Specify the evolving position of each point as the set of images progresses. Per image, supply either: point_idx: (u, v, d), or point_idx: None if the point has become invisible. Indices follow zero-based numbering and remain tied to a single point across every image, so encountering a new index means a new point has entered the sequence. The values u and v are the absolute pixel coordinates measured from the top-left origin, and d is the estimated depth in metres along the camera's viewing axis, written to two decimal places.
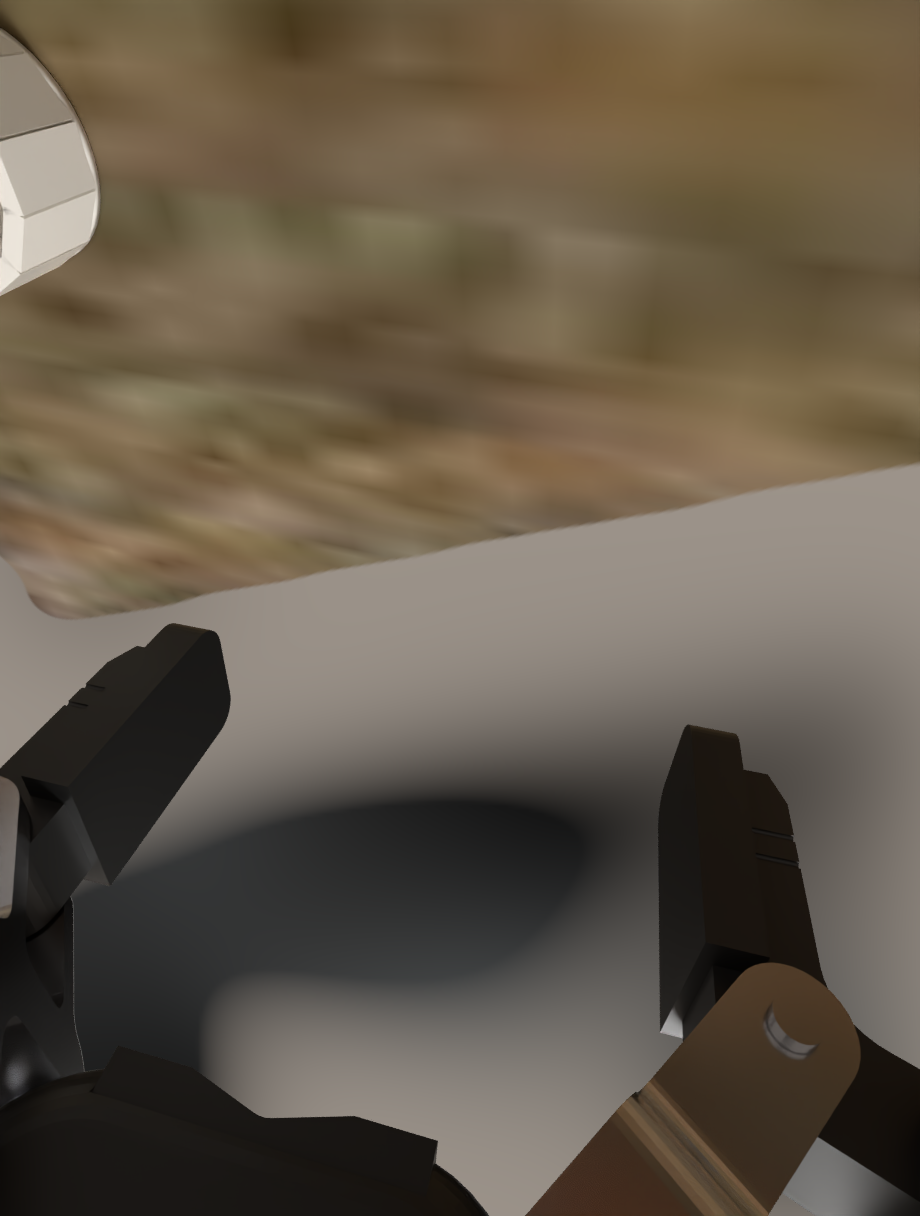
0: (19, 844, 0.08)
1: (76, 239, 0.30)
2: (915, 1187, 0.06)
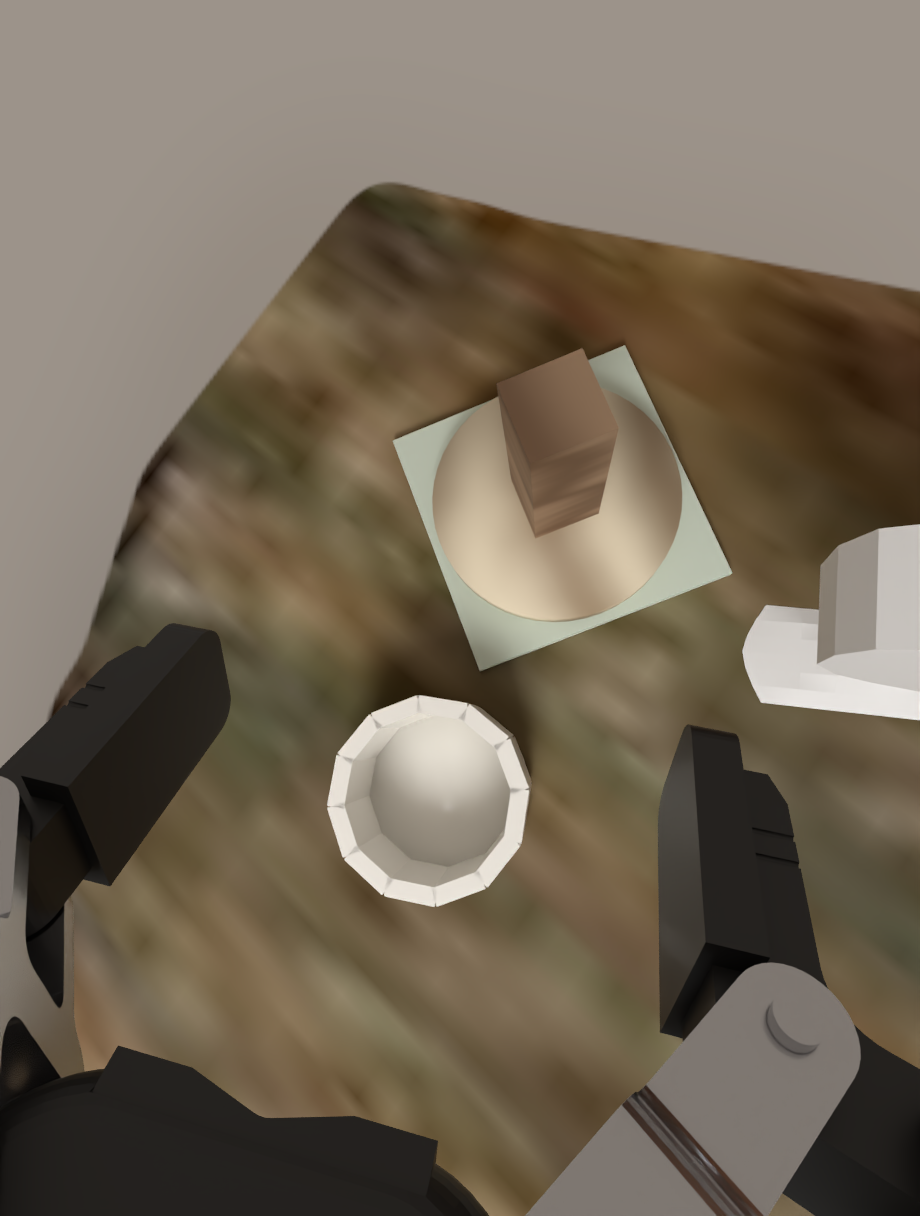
0: (19, 844, 0.08)
1: None
2: (915, 1187, 0.06)
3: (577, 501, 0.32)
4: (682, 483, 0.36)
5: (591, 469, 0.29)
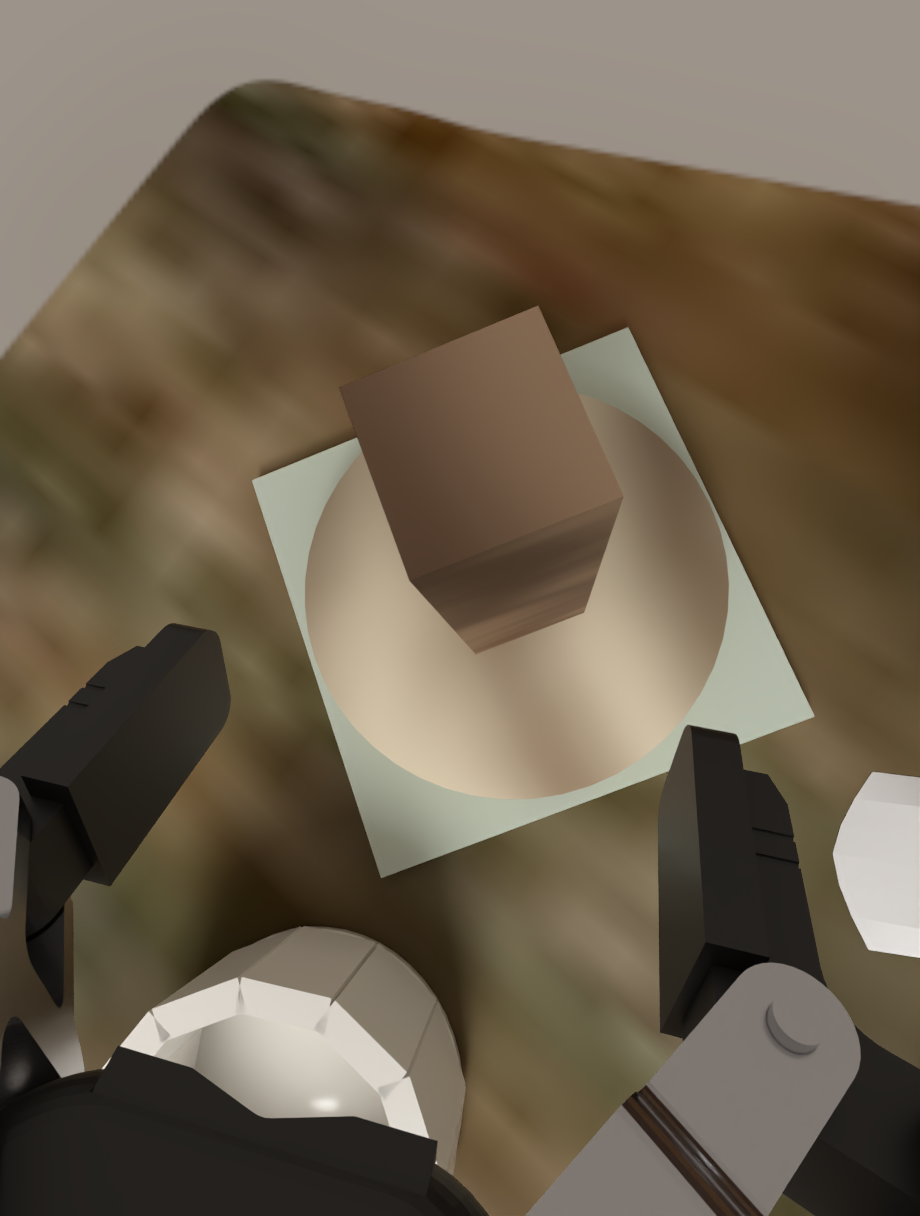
0: (19, 844, 0.08)
1: None
2: (915, 1187, 0.06)
3: (543, 608, 0.17)
4: None
5: (564, 567, 0.14)
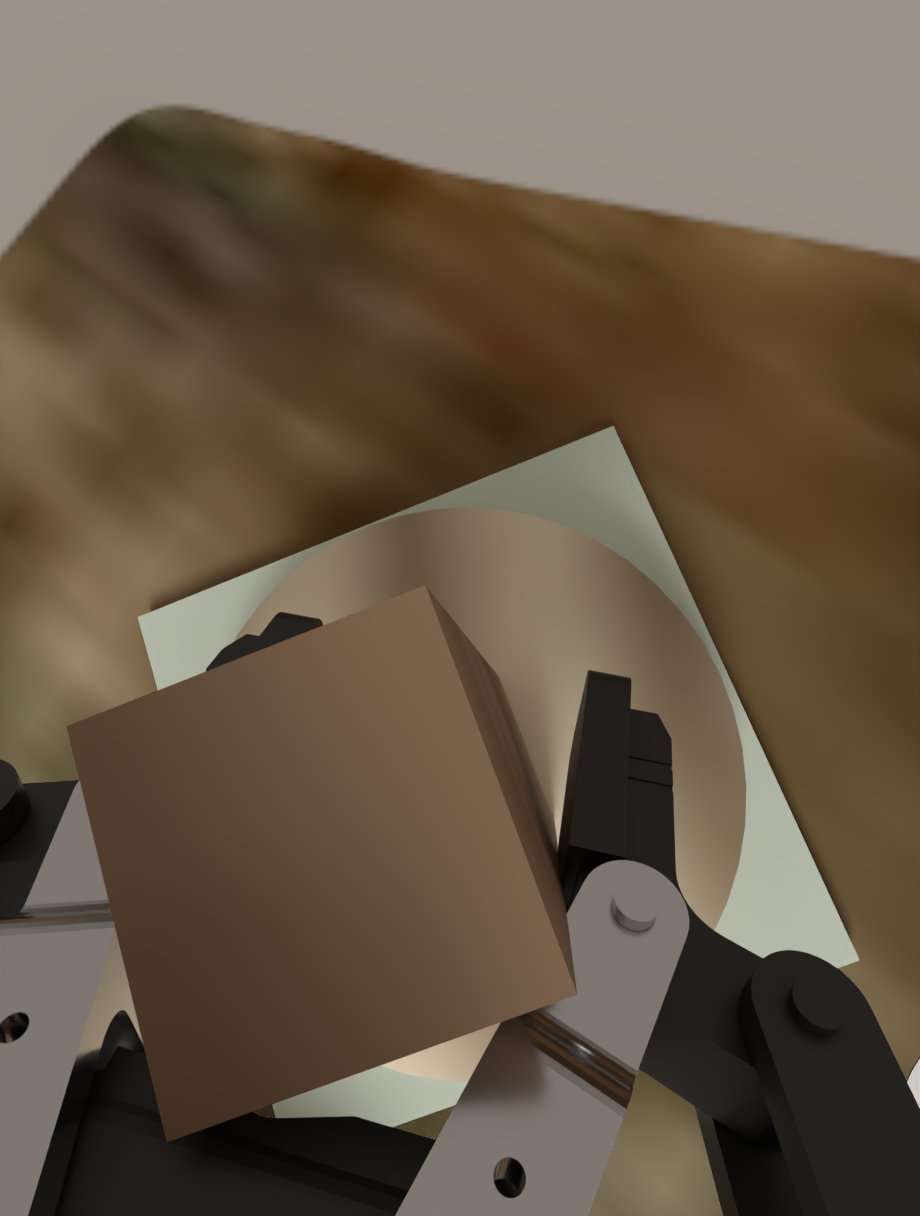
0: None
1: None
2: (724, 1039, 0.07)
3: None
4: (740, 737, 0.17)
5: None
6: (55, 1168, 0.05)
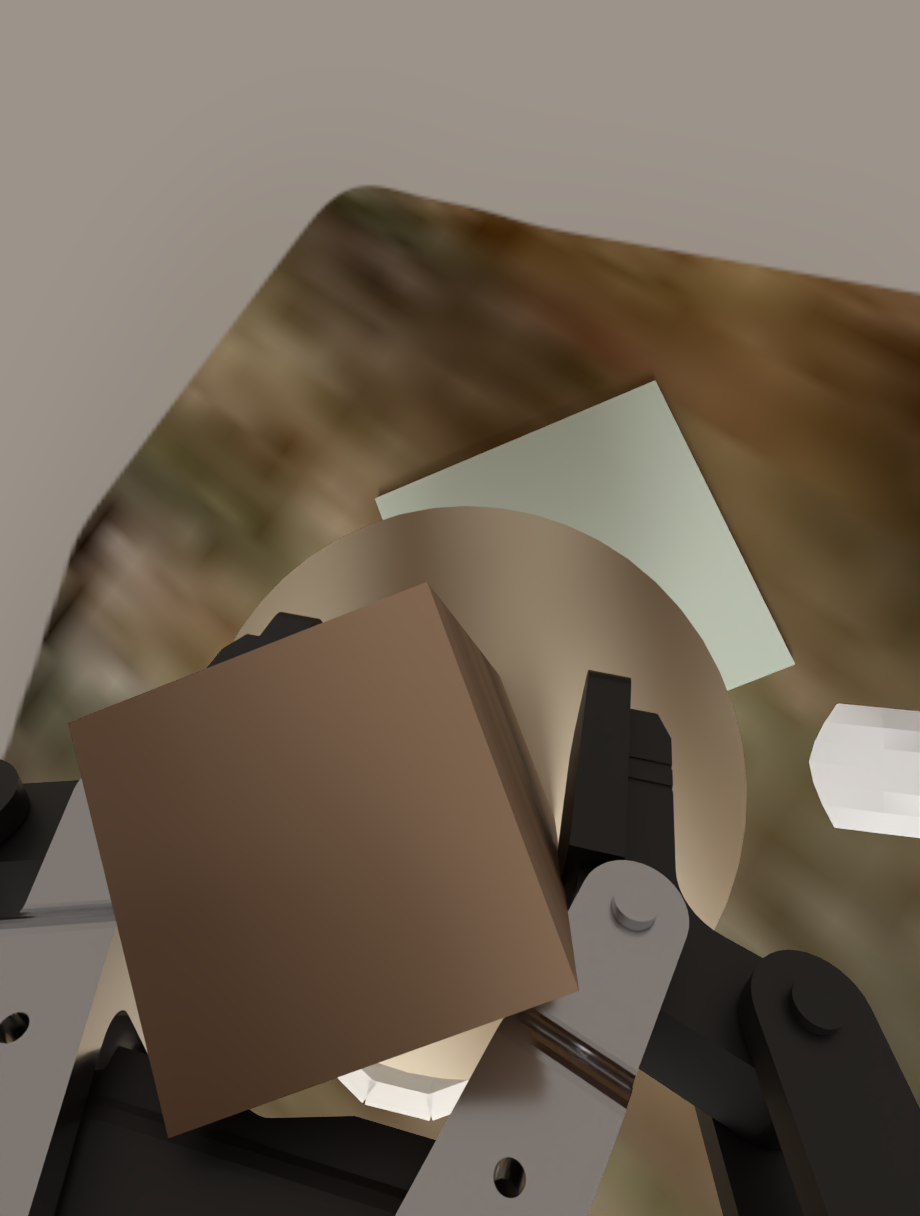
0: None
1: None
2: (725, 1039, 0.07)
3: None
4: (730, 551, 0.30)
5: None
6: (55, 1168, 0.05)
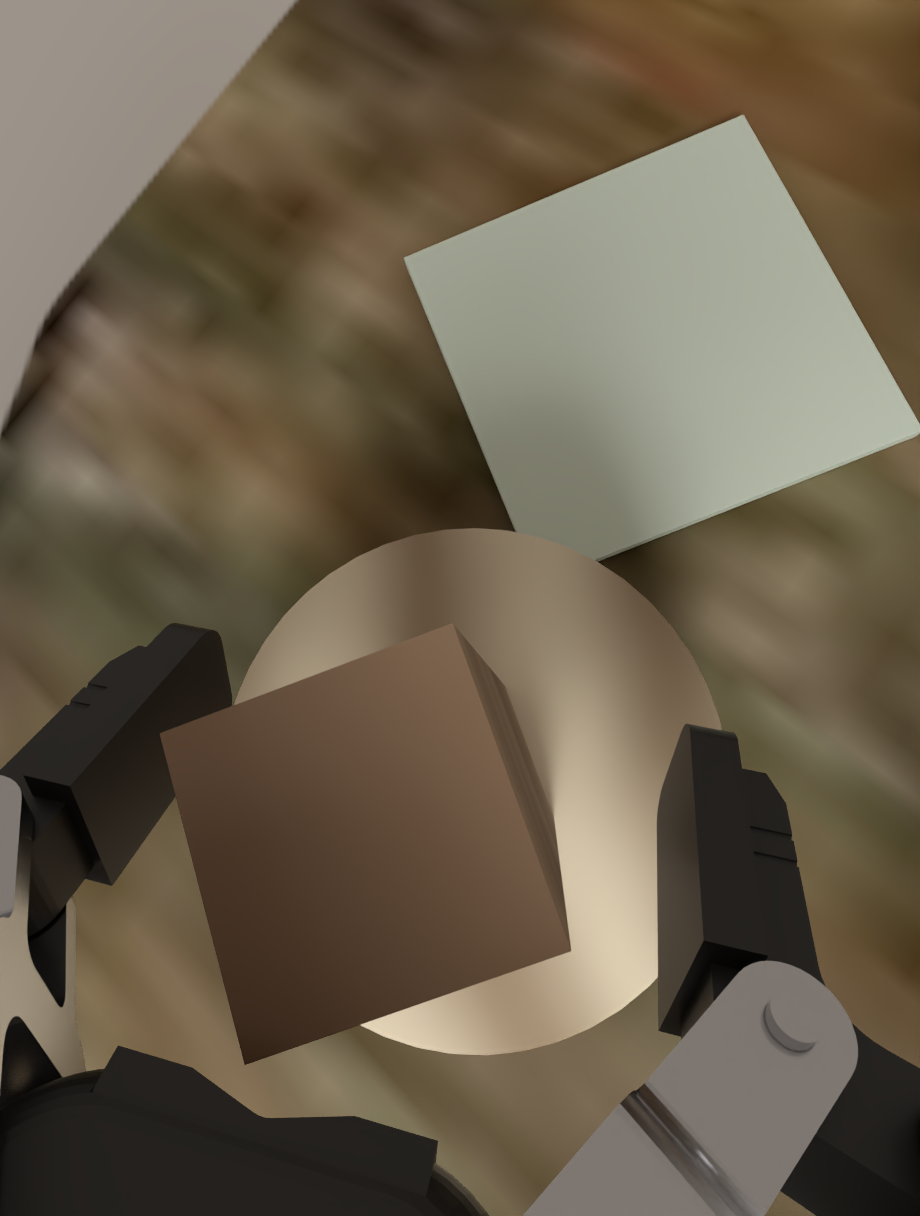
0: (21, 843, 0.08)
1: None
2: (912, 1185, 0.06)
3: None
4: (838, 303, 0.24)
5: None
6: None
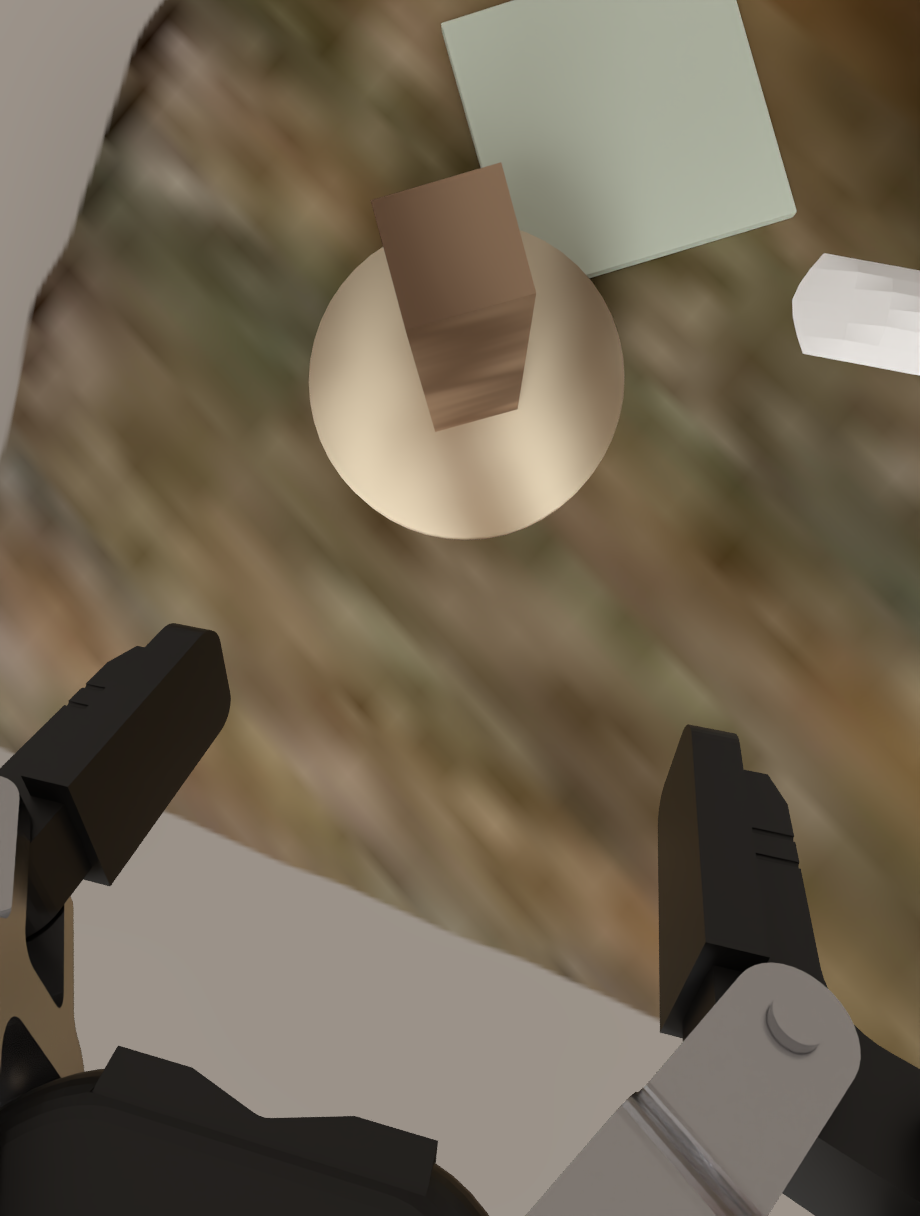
0: (19, 844, 0.08)
1: None
2: (915, 1187, 0.06)
3: (487, 391, 0.25)
4: (758, 107, 0.33)
5: (501, 349, 0.21)
6: None
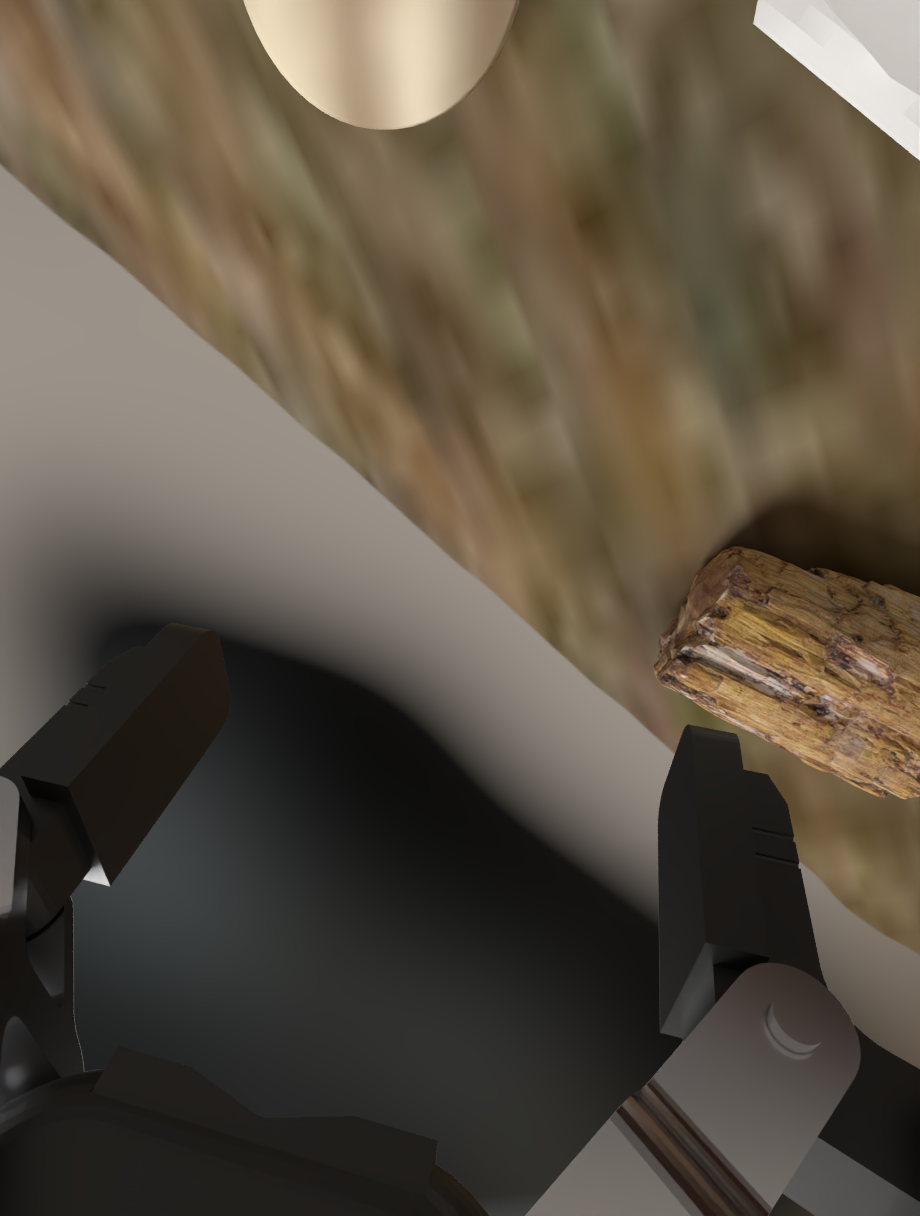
0: (19, 844, 0.08)
1: None
2: (915, 1187, 0.06)
3: None
4: None
5: None
6: None
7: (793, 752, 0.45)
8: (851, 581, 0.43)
